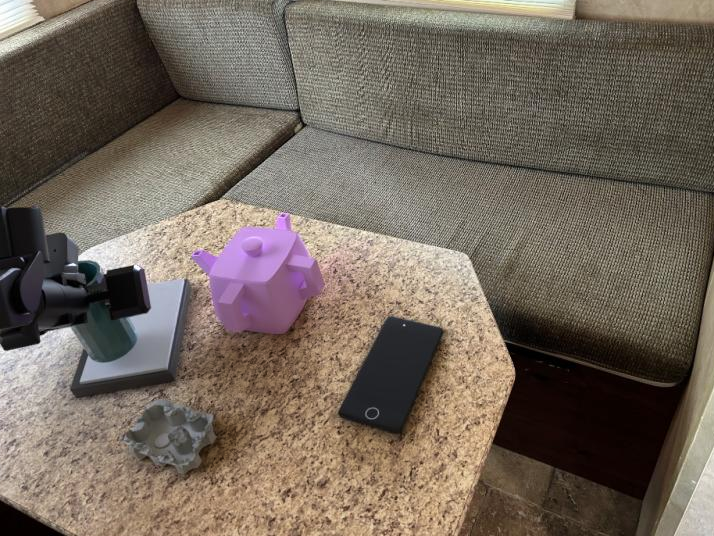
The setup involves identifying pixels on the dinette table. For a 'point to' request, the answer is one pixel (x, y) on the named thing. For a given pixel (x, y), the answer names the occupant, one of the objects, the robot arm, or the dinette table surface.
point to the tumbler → (103, 324)
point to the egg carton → (170, 435)
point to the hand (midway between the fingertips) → (95, 304)
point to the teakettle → (261, 278)
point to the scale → (142, 346)
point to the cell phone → (391, 375)
